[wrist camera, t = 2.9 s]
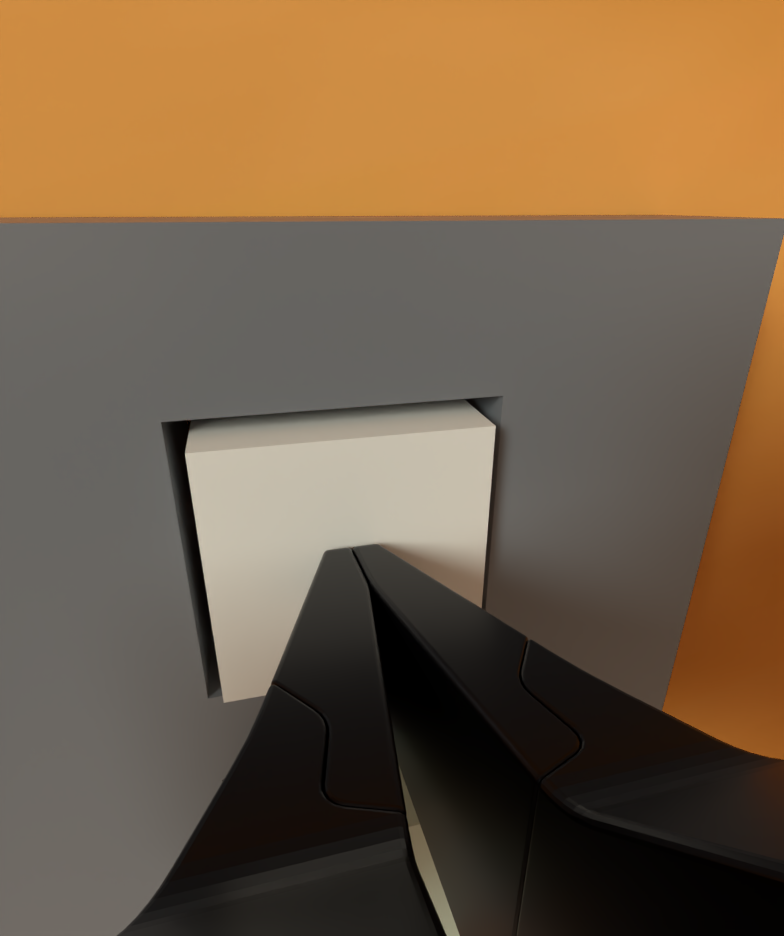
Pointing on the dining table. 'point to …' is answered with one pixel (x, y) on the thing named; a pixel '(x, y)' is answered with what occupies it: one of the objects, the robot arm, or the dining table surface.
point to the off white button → (329, 512)
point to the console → (318, 388)
